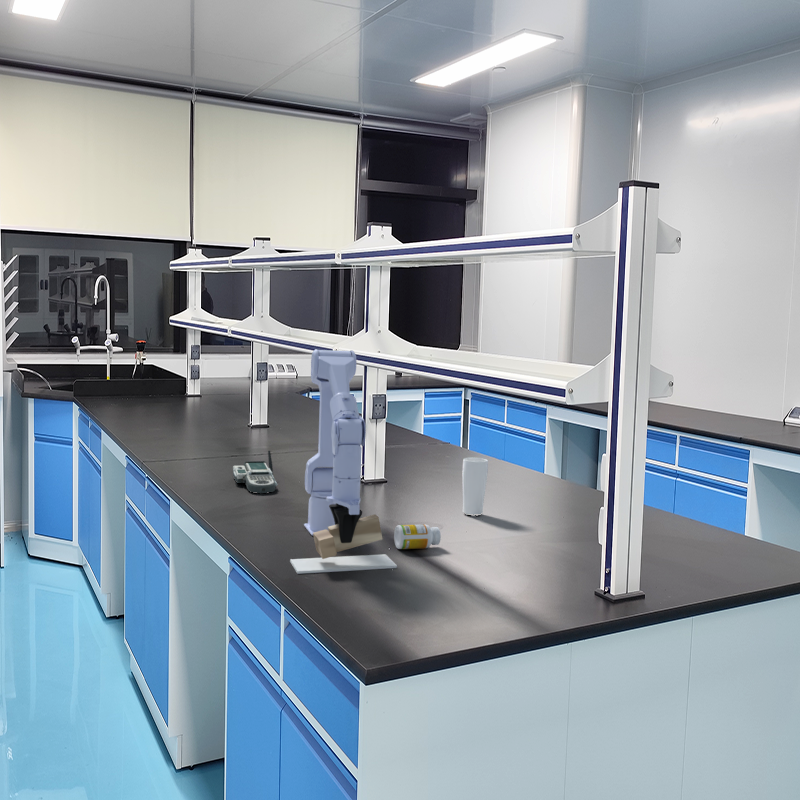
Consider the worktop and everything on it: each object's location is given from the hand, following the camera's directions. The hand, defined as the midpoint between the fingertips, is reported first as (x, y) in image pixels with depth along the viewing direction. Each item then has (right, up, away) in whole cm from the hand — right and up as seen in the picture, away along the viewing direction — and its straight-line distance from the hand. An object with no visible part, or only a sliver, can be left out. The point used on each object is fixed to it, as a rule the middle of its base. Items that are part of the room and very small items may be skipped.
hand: (344, 540), depth 169 cm
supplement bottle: (+11, -2, +13) cm, 17 cm away
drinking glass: (+31, -2, +49) cm, 58 cm away
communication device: (-32, +3, +72) cm, 79 cm away
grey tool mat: (0, -5, +1) cm, 5 cm away
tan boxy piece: (+1, -1, +1) cm, 2 cm away
